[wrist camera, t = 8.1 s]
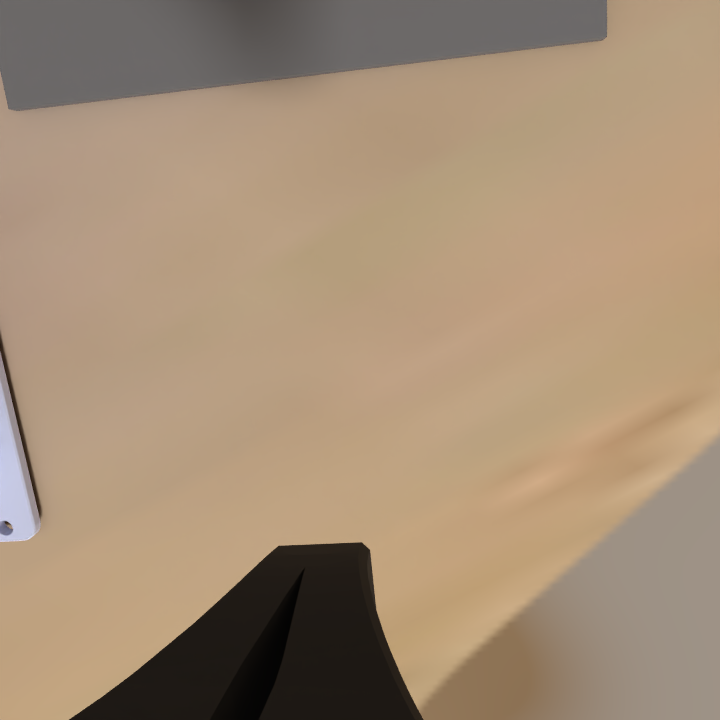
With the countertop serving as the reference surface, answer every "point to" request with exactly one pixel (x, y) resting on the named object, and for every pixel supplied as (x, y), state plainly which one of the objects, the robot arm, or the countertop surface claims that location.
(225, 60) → the mat
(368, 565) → the robot arm
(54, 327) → the countertop surface
